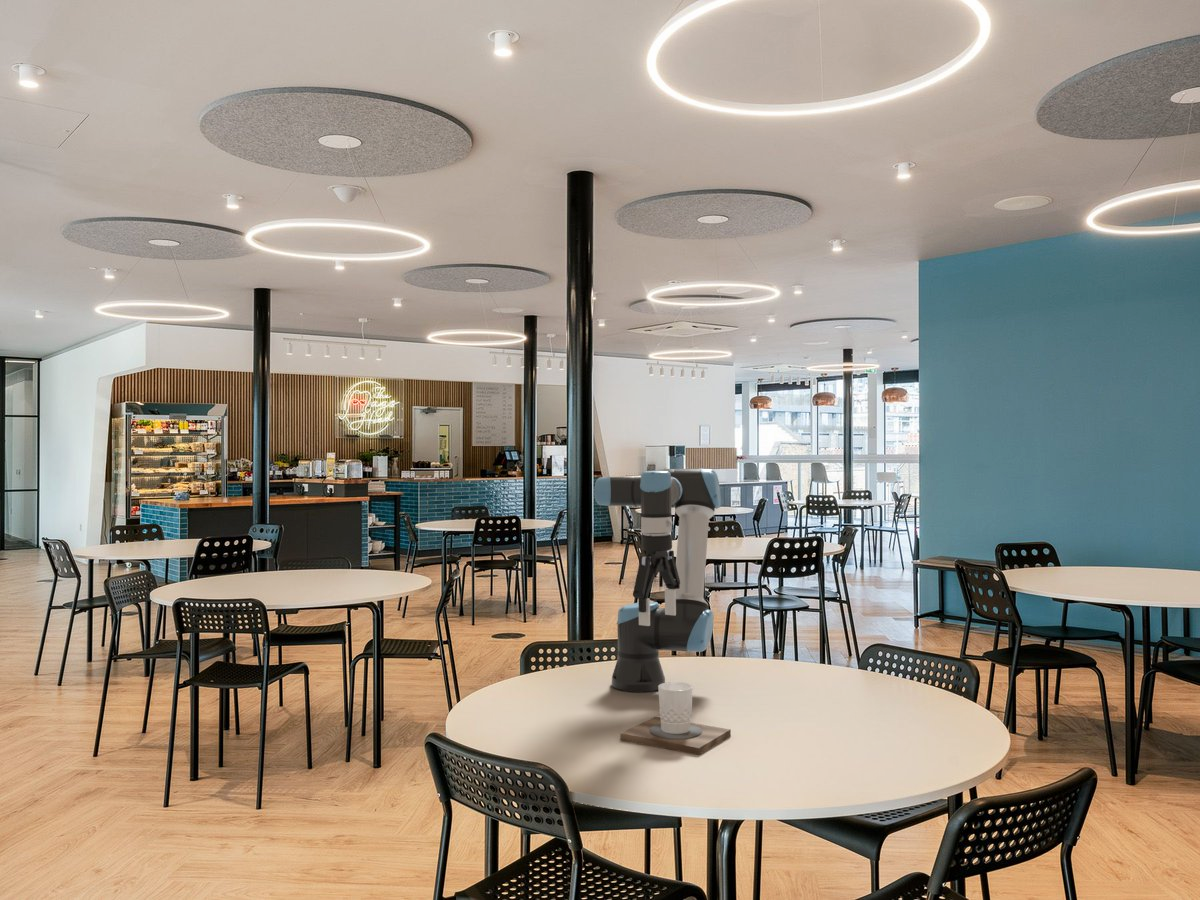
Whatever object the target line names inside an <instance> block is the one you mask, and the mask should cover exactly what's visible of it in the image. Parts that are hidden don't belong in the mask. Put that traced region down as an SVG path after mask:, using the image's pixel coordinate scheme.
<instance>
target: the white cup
mask: <svg viewBox="0 0 1200 900" xmlns="http://www.w3.org/2000/svg"><path fill="white" fill-rule="evenodd" d="M693 687H694V686H693V685H692V684H690V683H687V682H679V681H670V682H669V681H668V682H665V683H662V684H660V685H658V690H657V691H658V709H659V710H658V711H659V717H660V719H661V730H662V731H663V732H666V733H670V734H683V733H687V732H689V731H690V723H691V720H692V712H693V711H692V709H693V689H694V688H693Z"/></svg>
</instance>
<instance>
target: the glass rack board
mask: <svg viewBox="0 0 1200 900" xmlns="http://www.w3.org/2000/svg"><path fill="white" fill-rule="evenodd" d="M731 734H732V733H731V728H730V729H729V728H723V727H718V726H714V725H713V726H711V725H707V724H699V723H695V722H690V731H689V732H687V733H683V734H670V733H666V732H663V731H662V730H661V719H660V716H653V717H651V718H649V719H647V720H644V721H643V722H640V723H639V724H636V725H634V726H632V727H631V728H628V729H626V730H624V731H622V732H620V739H619V740H620V741H624V742H625V741H626V742H629V743H634V744H639V745H646V746H651V747H654V748H655V747H656V748H661V749H666V750H672V751H675V752H676V751H677V752H680V753H686V754H692V755H697V756H699V755H701V754H703V753H705V752H707V751H708V750H710V749H711V748H714V747H715V746H716V745H718V744H719V743H721V742H723V741H725V740H726V739H729V738H730V737H731Z"/></svg>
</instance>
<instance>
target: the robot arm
mask: <svg viewBox="0 0 1200 900" xmlns="http://www.w3.org/2000/svg"><path fill="white" fill-rule="evenodd" d="M718 477H719V476H718V474H717V472H716V471H715V470H714V469H711V468H701V467H700V468H663V469H657V470H648V471H647V470H645V471H642V472H641V473H640V474H638V475H634V476H633V475H631V476H629V475H628V476H601V477H598V478H596V481H595V483H594V488H593V489H594V491H593V492H594V493H593V495H594V501H595V502H596V504H597V505H598V506H605V507H633V506H634V507H640V512H641V513H640V514H641V515H640V532H641V533H642V535H641V537H640V538H641V539H640V540H641V543H640V544H641V550H642V551H645V552H646V555H645V556H642V555H640V556H639V557H638V568H637V573H636V577H635V582H634V588H633V591H632V597H633V598H634V599H638V602H633V603H629V604H626V605H622V606H621V607H620V608H619V609H618V611H617V621H616V625H617V659H616V663H615V666H614V669H613V672H612V675H611V686H612V688H614V689H616V690H619V691H623V692H632V693H633V692H635V693H636V692H637V693H638V692H639V693H643V692H645V693H646V692H654V691H658V685H660V684H662V683H666V676H665V674H664V671H663V667H662V663H661V661H660V656H659V653H660V651H671V652H673V651H674V652H687V653H695V652H697V653H698V652H700V653H701V652H704V651H705V650H706V649H708V647H709V646H710V643H711V639H712V637H713V636H712V635H713V629H714V612H713V611H712V610H710V609H709V604H708V602H707V600H705V597H704V593H705V581H706V578H705V577H706V566H707V565H706V564H707V551H708V550H707V548H708V535H709V534H708V533H709V522H710V519H712V517H714V516H715V510H716V509H717V510H718V509H719V508H721V505H722V497H721V496H722V495H721V486H720V482H719V478H718ZM673 508H674V513H675V514H676V515H677V516H678V517H679V520H678V532H677V545H676V557H675V551H674V550H672V549H673V536H672V534H670V533H672V525H673V521H672V520H673V519H672V509H673ZM658 574H660V576H661V578H662V580H663V582H664V584H665V587H666V588H664V607H660V605H659V603H658V602H657V601H651V598H649V594H650V591H651V589H652V586H653V583H654V581H655V579H656V578H655V577H656V576H657V575H658Z"/></svg>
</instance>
